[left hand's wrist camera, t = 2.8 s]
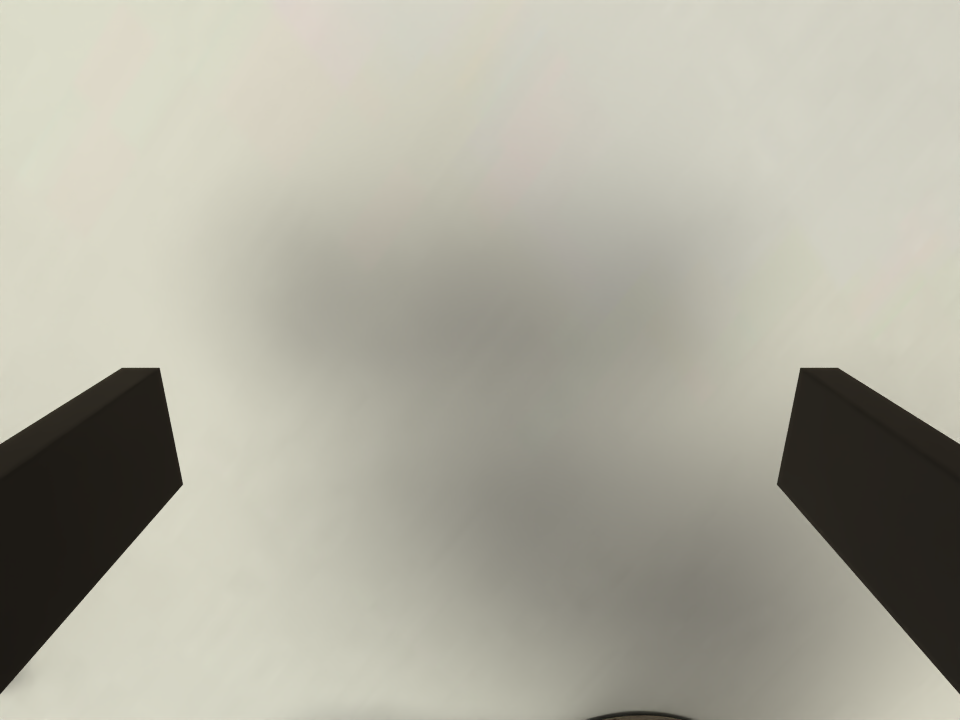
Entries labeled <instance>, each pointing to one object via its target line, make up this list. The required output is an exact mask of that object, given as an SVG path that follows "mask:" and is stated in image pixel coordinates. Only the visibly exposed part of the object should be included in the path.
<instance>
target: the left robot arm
mask: <svg viewBox="0 0 960 720" xmlns="http://www.w3.org/2000/svg"><path fill="white" fill-rule="evenodd" d="M182 485H183V482H182V477H181V472H180V467H179V462H178V457H177V452H176V447H175V442H174V437H173V432H172V427H171V422H170V417H169V412H168V407H167V402H166V397H165V393H164V388H163V383H162V378H161V373H160V368H121V369H120V370H118V371H116V372H115V373H113V374H112V375H110V376H108V377H107V378H105V379H104V380H102V381H100V382H99V383H97V384H96V385H94V386H92V387H91V388H89V389H88V390H86V391H84V392H83V393H81V394H80V395H78V396H76V397H75V398H73V399H72V400H70V401H69V402H67V403H65V404H64V405H62V406H61V407H59V408H57V409H56V410H54V411H53V412H51V413H49V414H48V415H46V416H45V417H43V418H41V419H40V420H38V421H37V422H35V423H33V424H32V425H30V426H29V427H27V428H25V429H24V430H22V431H21V432H19V433H17V434H16V435H14V436H13V437H11V438H9V439H8V440H6V441H5V442H3V443H1V444H0V694H1V693H2V691H3V690H4V689H5V688H6V687H7V686H8V685H9V683H10V682H11V681H12V680H13V679H14V678H15V677H16V675H17V674H18V673H19V672H20V671H21V670H22V669H23V667H24V666H25V665H26V664H27V663H28V662H29V661H30V659H31V658H32V657H33V656H34V655H35V654H36V652H37V651H38V650H39V649H40V648H41V647H42V646H43V644H44V643H45V642H46V641H47V640H48V639H49V638H50V636H51V635H52V634H53V633H54V632H55V631H56V630H57V628H58V627H59V626H60V625H61V624H62V623H63V622H64V620H65V619H66V618H67V617H68V616H69V615H70V613H71V612H72V611H73V610H74V609H75V608H76V607H77V605H78V604H79V603H80V602H81V601H82V600H83V599H84V597H85V596H86V595H87V594H88V593H89V592H90V591H91V589H92V588H93V587H94V586H95V585H96V584H97V583H98V581H99V580H100V579H101V578H102V577H103V576H104V574H105V573H106V572H107V571H108V570H109V569H110V568H111V566H112V565H113V564H114V563H115V562H116V561H117V560H118V558H119V557H120V556H121V555H122V554H123V553H124V552H125V550H126V549H127V548H128V547H129V546H130V545H131V544H132V542H133V541H134V540H135V539H136V538H137V537H138V535H139V534H140V533H141V532H142V531H143V530H144V529H145V527H146V526H147V525H148V524H149V523H150V522H151V521H152V519H153V518H154V517H155V516H156V515H157V514H158V513H159V511H160V510H161V509H162V508H163V507H164V506H165V505H166V503H167V502H168V501H169V500H170V499H171V498H172V496H173V495H174V494H175V493H176V492H177V491H178V490H179V488H180V487H181V486H182ZM777 485H778V486H779V487H780V488H781V490H782V491H783V492H784V493H785V494H786V495H787V496H788V498H789V499H790V500H791V501H792V502H793V503H794V505H795V506H796V507H797V508H798V509H799V510H800V511H801V513H802V514H803V515H804V516H805V517H806V518H807V519H808V521H809V522H810V523H811V524H812V525H813V526H814V527H815V529H816V530H817V531H818V532H819V533H820V534H821V535H822V537H823V538H824V539H825V540H826V541H827V542H828V544H829V545H830V546H831V547H832V548H833V549H834V550H835V552H836V553H837V554H838V555H839V556H840V557H841V558H842V560H843V561H844V562H845V563H846V564H847V565H848V566H849V568H850V569H851V570H852V571H853V572H854V573H855V574H856V576H857V577H858V578H859V579H860V580H861V581H862V583H863V584H864V585H865V586H866V587H867V588H868V589H869V591H870V592H871V593H872V594H873V595H874V596H875V597H876V599H877V600H878V601H879V602H880V603H881V604H882V605H883V607H884V608H885V609H886V610H887V611H888V612H889V613H890V615H891V616H892V617H893V618H894V619H895V620H896V622H897V623H898V624H899V625H900V626H901V627H902V628H903V630H904V631H905V632H906V633H907V634H908V635H909V636H910V638H911V639H912V640H913V641H914V642H915V643H916V644H917V646H918V647H919V648H920V649H921V650H922V651H923V652H924V654H925V655H926V656H927V657H928V658H929V659H930V661H931V662H932V663H933V664H934V665H935V666H936V667H937V669H938V670H939V671H940V672H941V673H942V674H943V675H944V677H945V678H946V679H947V680H948V681H949V682H950V683H951V685H952V686H953V687H954V688H955V689H956V690H957V691H958V693H959V694H960V444H959V443H957V442H955V441H954V440H952V439H951V438H949V437H947V436H946V435H944V434H943V433H941V432H939V431H938V430H936V429H935V428H933V427H931V426H930V425H928V424H927V423H925V422H923V421H922V420H920V419H919V418H917V417H915V416H914V415H912V414H911V413H909V412H907V411H906V410H904V409H903V408H901V407H899V406H898V405H896V404H895V403H893V402H891V401H890V400H888V399H887V398H885V397H884V396H882V395H880V394H879V393H877V392H876V391H874V390H872V389H871V388H869V387H868V386H866V385H864V384H863V383H861V382H860V381H858V380H856V379H855V378H853V377H852V376H850V375H848V374H847V373H845V372H844V371H842V370H840V369H839V368H800V373H799V378H798V383H797V388H796V393H795V397H794V402H793V407H792V412H791V417H790V422H789V427H788V432H787V437H786V442H785V447H784V452H783V457H782V462H781V467H780V472H779V477H778V482H777ZM603 720H680V719H675V718H670V717H662V716H648V715H636V716H622V717H614V718H608V719H603Z"/></svg>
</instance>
